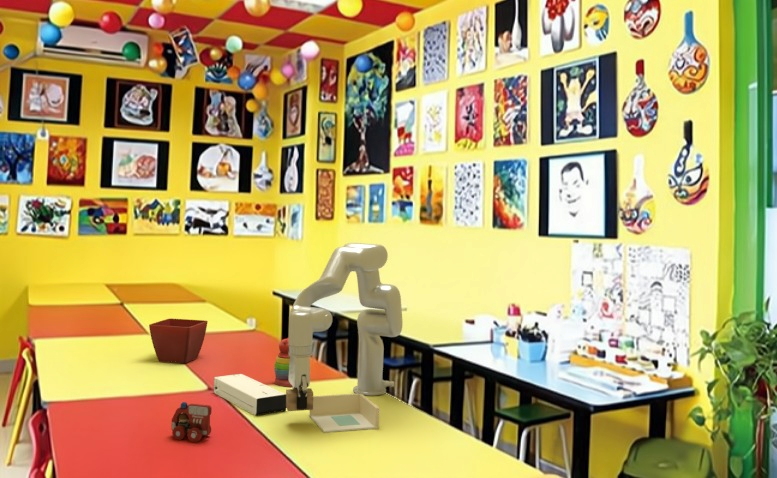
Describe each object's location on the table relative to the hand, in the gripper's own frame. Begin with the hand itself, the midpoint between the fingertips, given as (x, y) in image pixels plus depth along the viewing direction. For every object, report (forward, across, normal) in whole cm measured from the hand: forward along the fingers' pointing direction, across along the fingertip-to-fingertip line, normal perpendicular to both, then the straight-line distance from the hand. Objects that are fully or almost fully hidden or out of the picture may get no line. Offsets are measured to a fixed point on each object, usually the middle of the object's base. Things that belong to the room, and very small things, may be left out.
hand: (299, 405), depth 216 cm
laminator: (+7, -29, -12) cm, 32 cm away
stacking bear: (+8, -51, +7) cm, 52 cm away
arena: (+6, +2, +14) cm, 16 cm away
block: (+1, 0, 0) cm, 1 cm away
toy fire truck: (+5, +6, -34) cm, 35 cm away
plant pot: (+8, -101, -31) cm, 106 cm away
